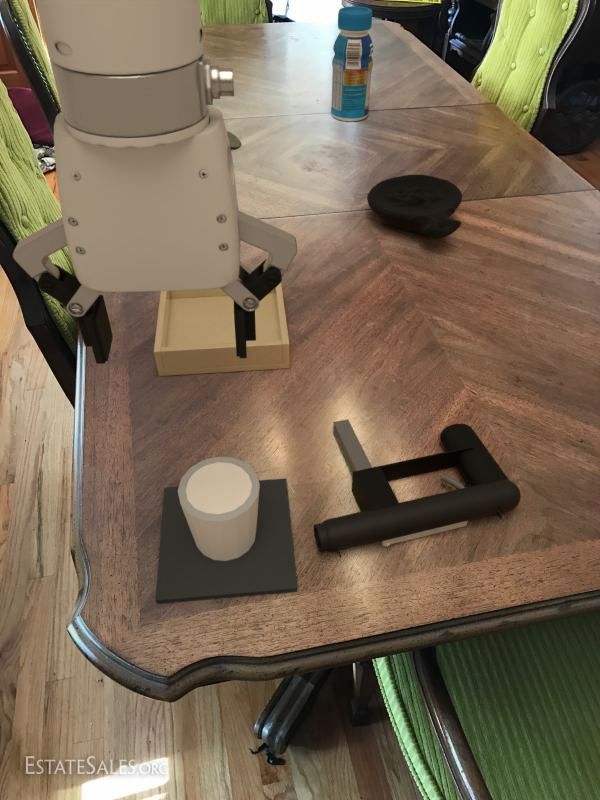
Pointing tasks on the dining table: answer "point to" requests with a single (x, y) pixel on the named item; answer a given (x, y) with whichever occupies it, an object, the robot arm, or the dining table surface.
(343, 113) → the beverage bottle
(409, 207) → the black cap
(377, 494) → the door handle
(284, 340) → the caddy
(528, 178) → the dining table surface
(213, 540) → the shot glass
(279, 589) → the mat
